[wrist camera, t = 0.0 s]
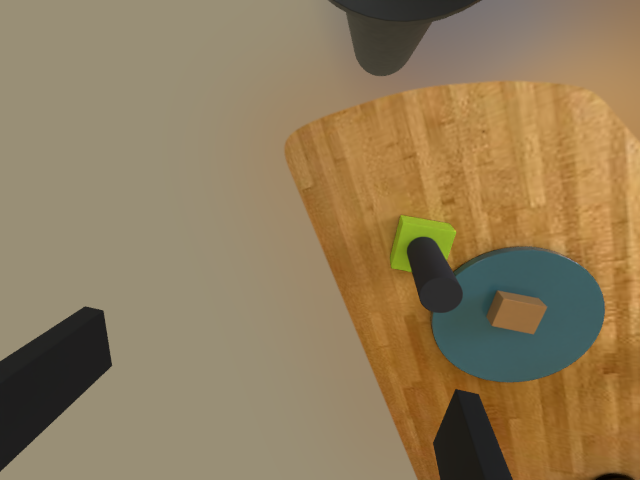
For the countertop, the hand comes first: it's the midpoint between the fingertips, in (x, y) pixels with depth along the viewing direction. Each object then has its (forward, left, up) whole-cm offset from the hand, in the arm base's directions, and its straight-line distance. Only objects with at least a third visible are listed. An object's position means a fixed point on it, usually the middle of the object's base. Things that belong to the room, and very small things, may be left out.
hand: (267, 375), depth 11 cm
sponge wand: (+4, +11, -29) cm, 31 cm away
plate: (+12, +25, -29) cm, 40 cm away
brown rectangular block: (+10, +24, -28) cm, 38 cm away
